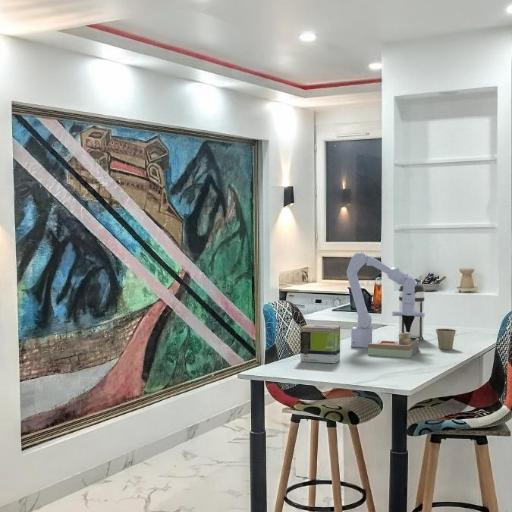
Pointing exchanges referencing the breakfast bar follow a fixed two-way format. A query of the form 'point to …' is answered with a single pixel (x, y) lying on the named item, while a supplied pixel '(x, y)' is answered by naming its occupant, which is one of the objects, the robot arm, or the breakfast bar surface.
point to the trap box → (393, 348)
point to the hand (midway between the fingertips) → (408, 332)
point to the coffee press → (419, 307)
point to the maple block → (405, 338)
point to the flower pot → (445, 338)
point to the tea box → (320, 343)
